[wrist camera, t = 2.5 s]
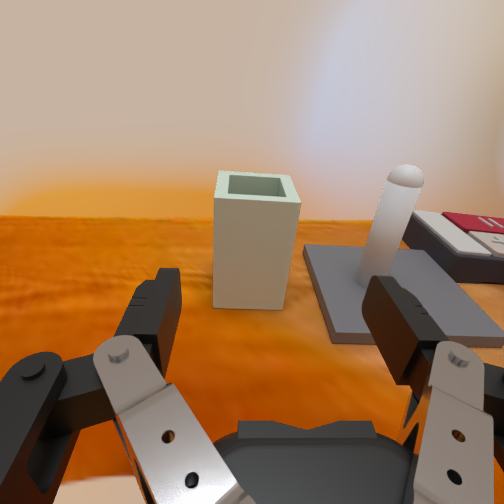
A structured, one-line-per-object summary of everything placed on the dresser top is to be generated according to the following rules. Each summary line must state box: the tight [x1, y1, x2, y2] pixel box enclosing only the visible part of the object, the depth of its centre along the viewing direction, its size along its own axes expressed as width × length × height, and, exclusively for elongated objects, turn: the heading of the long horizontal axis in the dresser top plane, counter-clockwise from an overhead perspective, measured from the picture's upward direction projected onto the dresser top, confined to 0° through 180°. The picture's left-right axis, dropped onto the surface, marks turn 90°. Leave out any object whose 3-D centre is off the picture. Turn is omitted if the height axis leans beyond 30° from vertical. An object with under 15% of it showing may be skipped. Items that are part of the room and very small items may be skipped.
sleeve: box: [213, 171, 301, 310], centre depth 26 cm, size 6×6×10 cm
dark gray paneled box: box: [402, 210, 504, 284], centre depth 36 cm, size 11×4×15 cm
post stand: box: [303, 164, 504, 348], centre depth 26 cm, size 14×13×12 cm
